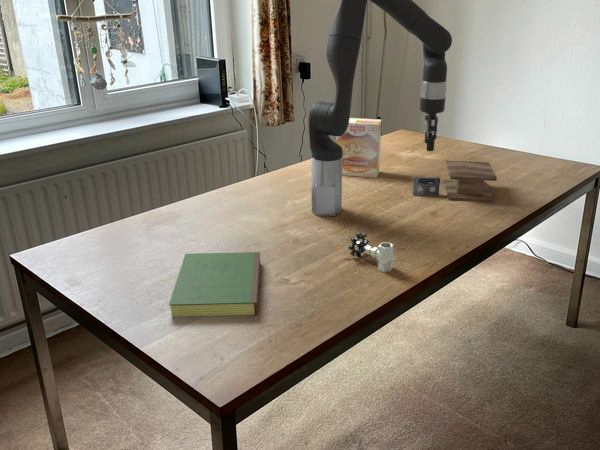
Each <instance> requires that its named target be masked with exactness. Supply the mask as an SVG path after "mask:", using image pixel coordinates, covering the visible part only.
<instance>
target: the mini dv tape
mask: <svg viewBox="0 0 600 450" xmlns="http://www.w3.org/2000/svg"><path fill="white" fill-rule="evenodd" d="M440 184H441V178H440V177H436V176H435V177H432V176H431V177H429V176H428V177H427V176H426V177H425V176H414V177H413V184H412V185H413V186H412V195H413V196H426V197H427V196H431V197H438V196H439V195H440Z"/></svg>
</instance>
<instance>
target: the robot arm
mask: <svg viewBox="0 0 600 450" xmlns="http://www.w3.org/2000/svg"><path fill="white" fill-rule="evenodd" d="M369 1H370V2H371V3H373V4H375V6H377V7H378V8H379V9H381V10H382V11H383V12H385V13H387V15H389V16H390V17H391V18H392V19H393V20H394V21H396V22H397V23H398V24H399V25H400V26H401V27H403V28H404V30H406V31H408V32H409V33H410V34H411V35H414V36H415V37H416V38H417V39H418V40H419V41H421V43H422V55H423V70H422V82H421V87H420V97H419V98H420V99H419V111H420V112H422V113H425V115H424V119H423V122H424V123H423V126H424V131H425V132H424V143H425V144H426V151H427V152H434V150H435V143H436V142H435V141H436V140H437V132H438V124H439V117H438V116H437V114H440V113H441V114H442V113H443V112H445V109H446V98H447V96H446V95H447V77H448V76H447V75H448V65H447V62H446V52H447V51H449V50H450V48H451V47H452V43H453V38H452V34H451V33H450V32H449V30H448V29H446V28H445V27H444V26H443V25H441V24H440V23H439V22H437V21H436V20H435V19H433V18H432V17H431V16H429V14H427V12H426V11H424V10H423V9H422V8H421V7H420V6H419V5H418V4H417V3H416V2H415V1H413V0H369ZM367 3H368V0H340V2H339V4H338V7H337V10H336V12H335V15H334V17H333V21H332V23H331V25H330V29H329V32H328V33H329V34H328V39H327V45H326V51H325V54H326V61H327V63H328V66H329V68H330V71H331V74H332V76H333V80H334V84H335V97H334V102H329V101H316V102H314V103H313V104H311V106H310V110H309V112H308V135H309V136H308V138H309V142H308V143H309V148H310V153H311V212H312V213H313V214H314V215H315V216H321V217H322V216H323V217H325V216H327V217H336V216H337V215H338V214H340V213H341V212H342V201H343V199H342V197H343V195H342V194H343V191H342V190H343V175H342V160H343V150H342V147H341V146H340V145H338V144H337V143H336V142H335V141H334V140H333V139H332V138H331V137H332V136H333V137H337V136H342V135H344V133H345V132H346V130H347V128H348V124H349V119H350V118H351V108H352V101H353V100H352V98H353V88H354V80H355V74H356V68H357V65H358V58H359V54H360V49H361V45H362V44H361V42H362V37H363V29H364V23H365V17H366V8H367ZM330 136H331V137H330Z"/></svg>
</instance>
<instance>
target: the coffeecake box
mask: <svg viewBox="0 0 600 450" xmlns="http://www.w3.org/2000/svg"><path fill="white" fill-rule="evenodd" d="M382 125H383V124H382V119H379V118H378V119H376V118H375V119H374V118H372V119H371V118H359V117H357V118H356V117H350V119H349V124H348V128H347V130H346V132H345V133H344V135H342V136H336V142H335V143H337V144H338V145H340V146H341V147H342V150H343V160H342V176H349V177H350V176H351V177H361V178H363V177H364V178H378V175H379V172H380V162H381V144H382V143H381V140H382Z"/></svg>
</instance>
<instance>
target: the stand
mask: <svg viewBox="0 0 600 450" xmlns="http://www.w3.org/2000/svg"><path fill="white" fill-rule="evenodd" d="M445 161H446V162H445V165H446V168H447V172H448V176H449V178H450V179H448V180H444V181H443V185H444V188H445V191H446V196H447V200H448V201H468V202H493V203H494V201H495V197H494V196H493V193H492V191H491V189H490V187H489V184H488V182H489V181H494V182H497V180H498V179H497V178H498V177H497V175H496V173H495V172H494V171H495V170H494V169H493V167H492V165H491V163H490V161H467V160H465V161H464V160H445ZM487 181H488V182H487Z"/></svg>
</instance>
